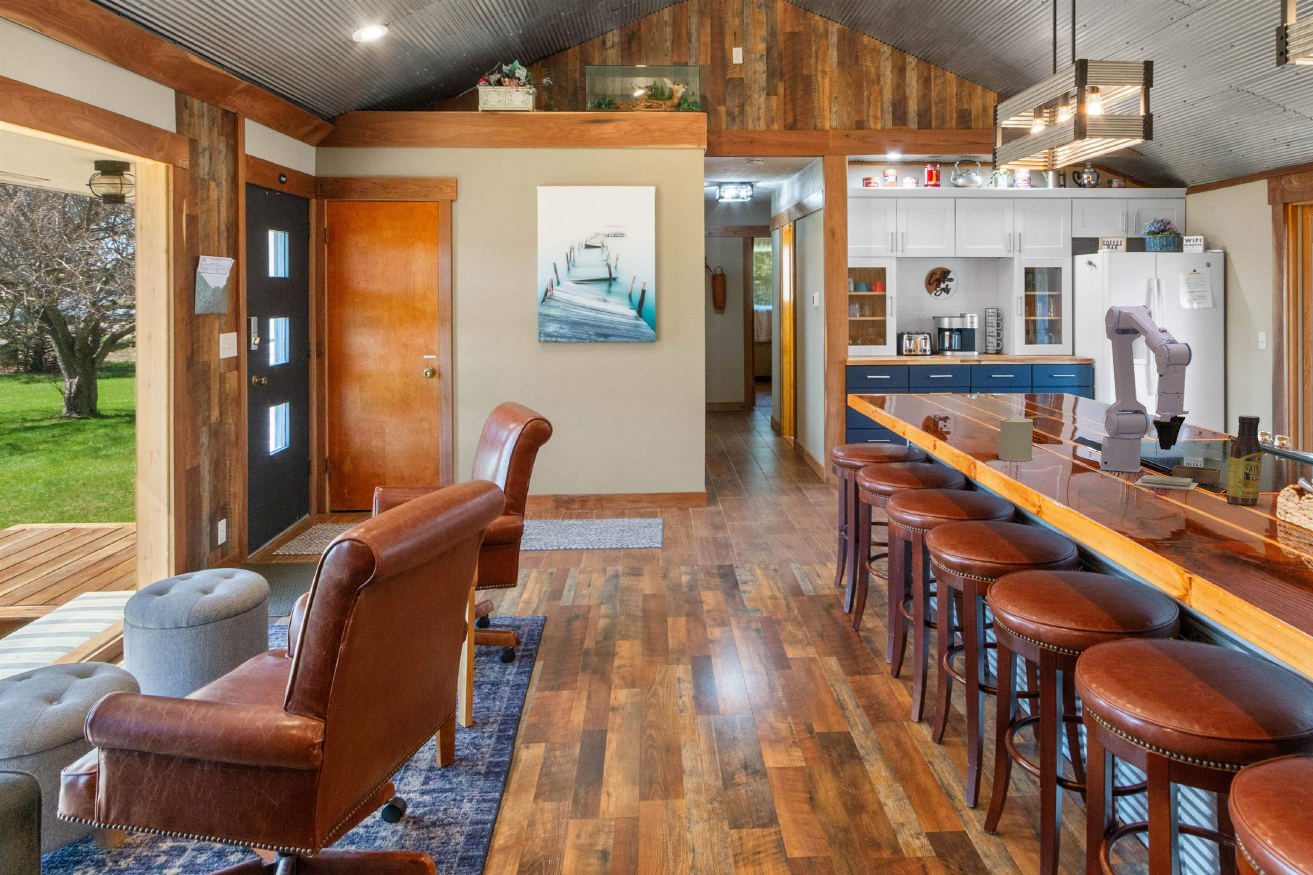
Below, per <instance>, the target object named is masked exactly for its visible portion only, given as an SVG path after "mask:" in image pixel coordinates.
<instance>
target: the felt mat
mask: <svg viewBox="0 0 1313 875" xmlns="http://www.w3.org/2000/svg"><path fill="white" fill-rule="evenodd" d="M1141 478H1142V477H1140V478H1139V479H1138V480H1136V481H1135V483H1133V486H1135V487H1136V486H1137V487H1146V488H1147V487H1149V488H1159V489H1170V490H1182V491H1192V492H1193V491H1195V489H1196V488H1197V487H1196V486H1199V484H1198V483H1191V484H1190V485H1189V486H1188V485H1185V486H1175V485H1163V484H1152V483H1147V482H1141Z"/></svg>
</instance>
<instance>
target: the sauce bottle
mask: <svg viewBox="0 0 1313 875" xmlns="http://www.w3.org/2000/svg"><path fill="white" fill-rule="evenodd" d="M1260 422H1261V420H1260V416H1257V415H1239V416H1238V432H1237V436H1236V437H1235V439H1234V441H1233V442H1232V443H1231V446H1230V454H1229V458H1228V471H1227V480H1226V481H1227V482H1226V503H1228V504H1232V505H1239V506H1254V505H1256V504H1257V503H1258V499H1259V495H1260V485H1261V473H1262V464H1263V462H1262V461H1263V450H1262V446H1261V444H1260V440H1259V437H1258V436H1259V433H1258V432H1259V424H1260Z"/></svg>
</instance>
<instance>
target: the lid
mask: <svg viewBox="0 0 1313 875" xmlns="http://www.w3.org/2000/svg"><path fill="white" fill-rule="evenodd" d="M1140 478H1141V482H1147V483H1152V484H1163V485H1175V486H1185V485H1188V486H1189V485H1190V484H1191V483H1192V479H1191V478H1179V477H1172V476H1166V475H1153V474H1152V475H1151V474H1144V475H1143V476H1142V477H1140Z"/></svg>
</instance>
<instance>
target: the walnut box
mask: <svg viewBox="0 0 1313 875" xmlns="http://www.w3.org/2000/svg"><path fill="white" fill-rule="evenodd" d="M1220 476H1221V468H1216V467H1215V468H1214V467H1203V466H1202V467H1200V466H1189V465H1188V466H1187V465H1174V466H1173V467H1172V468H1171V477H1179V478H1191V479H1192V483H1198V485H1201V484H1207V485H1206V486H1213V485H1217V486H1218V485H1219V484H1220ZM1218 483H1219V484H1218Z"/></svg>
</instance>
